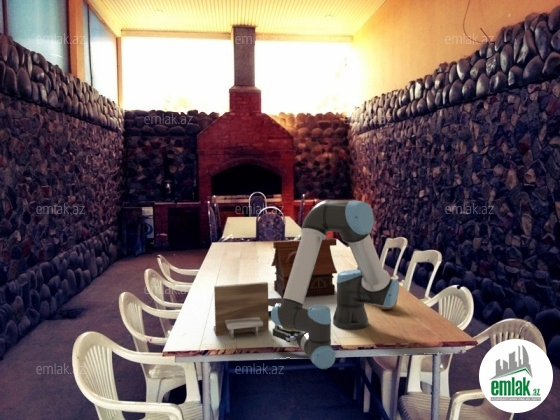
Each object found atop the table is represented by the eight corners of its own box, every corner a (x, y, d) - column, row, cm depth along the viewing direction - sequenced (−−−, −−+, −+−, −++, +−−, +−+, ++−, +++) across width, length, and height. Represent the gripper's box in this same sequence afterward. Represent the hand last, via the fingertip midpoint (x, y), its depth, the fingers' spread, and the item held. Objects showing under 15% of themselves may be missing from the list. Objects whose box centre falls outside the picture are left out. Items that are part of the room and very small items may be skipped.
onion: (382, 313, 208) (382, 292, 207) (372, 307, 217) (372, 287, 216) (401, 311, 210) (401, 290, 209) (390, 305, 220) (390, 285, 219)
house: (280, 302, 228) (280, 245, 226) (268, 288, 255) (268, 237, 253) (344, 296, 236) (345, 242, 234) (326, 283, 264) (326, 235, 261)
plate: (260, 298, 236) (260, 291, 236) (303, 307, 218) (303, 300, 218) (221, 311, 214) (221, 303, 214) (265, 323, 197) (265, 315, 196)
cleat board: (272, 335, 181) (272, 287, 179) (218, 341, 175) (217, 291, 173) (264, 323, 195) (263, 278, 193) (213, 328, 189) (212, 282, 188)
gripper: (276, 356, 155) (261, 335, 176) (342, 348, 162) (321, 328, 182) (275, 335, 155) (261, 316, 175) (342, 328, 161) (321, 310, 182)
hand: (292, 322), depth 179 cm, fingers open, 13 cm apart
